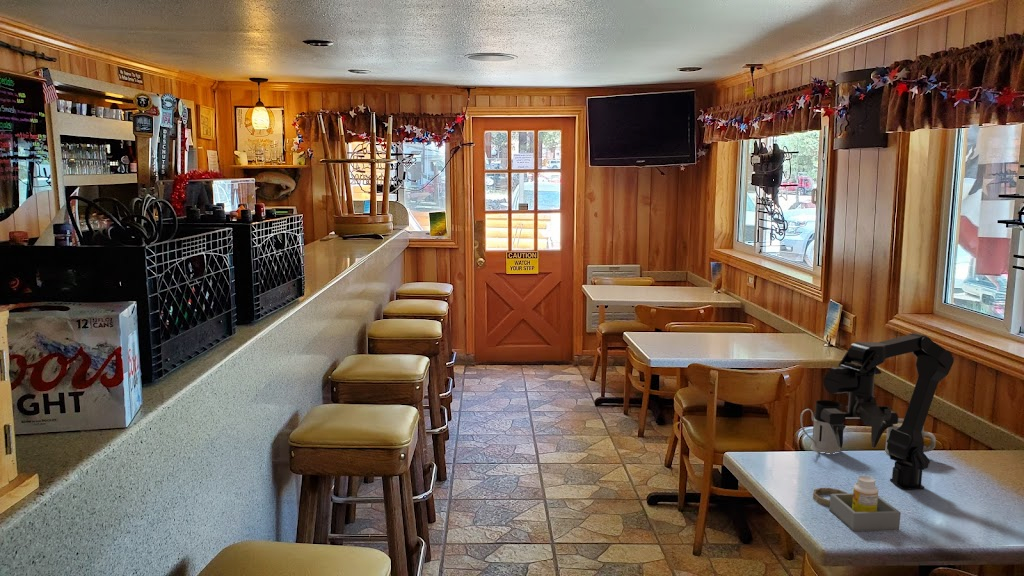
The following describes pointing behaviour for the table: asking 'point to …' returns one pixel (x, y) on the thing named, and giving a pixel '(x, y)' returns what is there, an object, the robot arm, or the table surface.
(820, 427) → the glass holder
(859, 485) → the supplement bottle
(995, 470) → the table surface
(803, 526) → the table surface
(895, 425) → the coffee mug
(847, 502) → the bin
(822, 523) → the table surface
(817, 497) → the stud collar
